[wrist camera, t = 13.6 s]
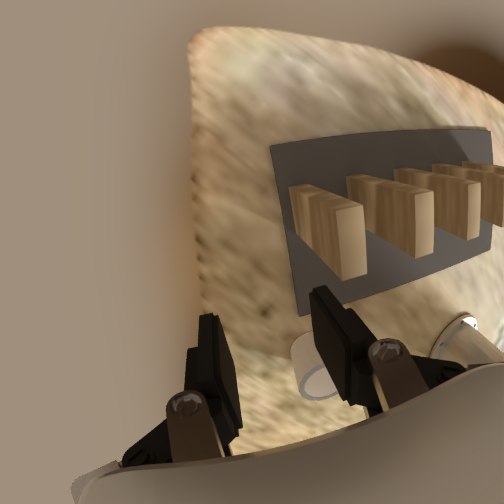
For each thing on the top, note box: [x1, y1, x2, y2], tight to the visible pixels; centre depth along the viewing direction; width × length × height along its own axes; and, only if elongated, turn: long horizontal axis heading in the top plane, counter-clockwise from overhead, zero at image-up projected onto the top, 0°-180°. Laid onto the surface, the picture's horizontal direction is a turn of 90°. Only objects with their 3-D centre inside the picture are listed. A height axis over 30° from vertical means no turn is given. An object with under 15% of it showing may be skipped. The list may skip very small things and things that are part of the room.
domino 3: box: [393, 168, 481, 241], centre depth 25 cm, size 2×5×12 cm, turn 11°
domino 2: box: [346, 174, 434, 259], centre depth 24 cm, size 2×5×12 cm, turn 11°
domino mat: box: [270, 129, 493, 317], centre depth 32 cm, size 20×36×1 cm, turn 101°
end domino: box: [462, 161, 504, 175], centre depth 25 cm, size 2×5×12 cm, turn 11°
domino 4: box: [432, 163, 504, 227], centre depth 25 cm, size 2×5×12 cm, turn 11°
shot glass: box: [290, 331, 338, 401], centre depth 33 cm, size 7×7×7 cm
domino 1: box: [288, 184, 367, 281], centre depth 24 cm, size 2×5×12 cm, turn 11°
